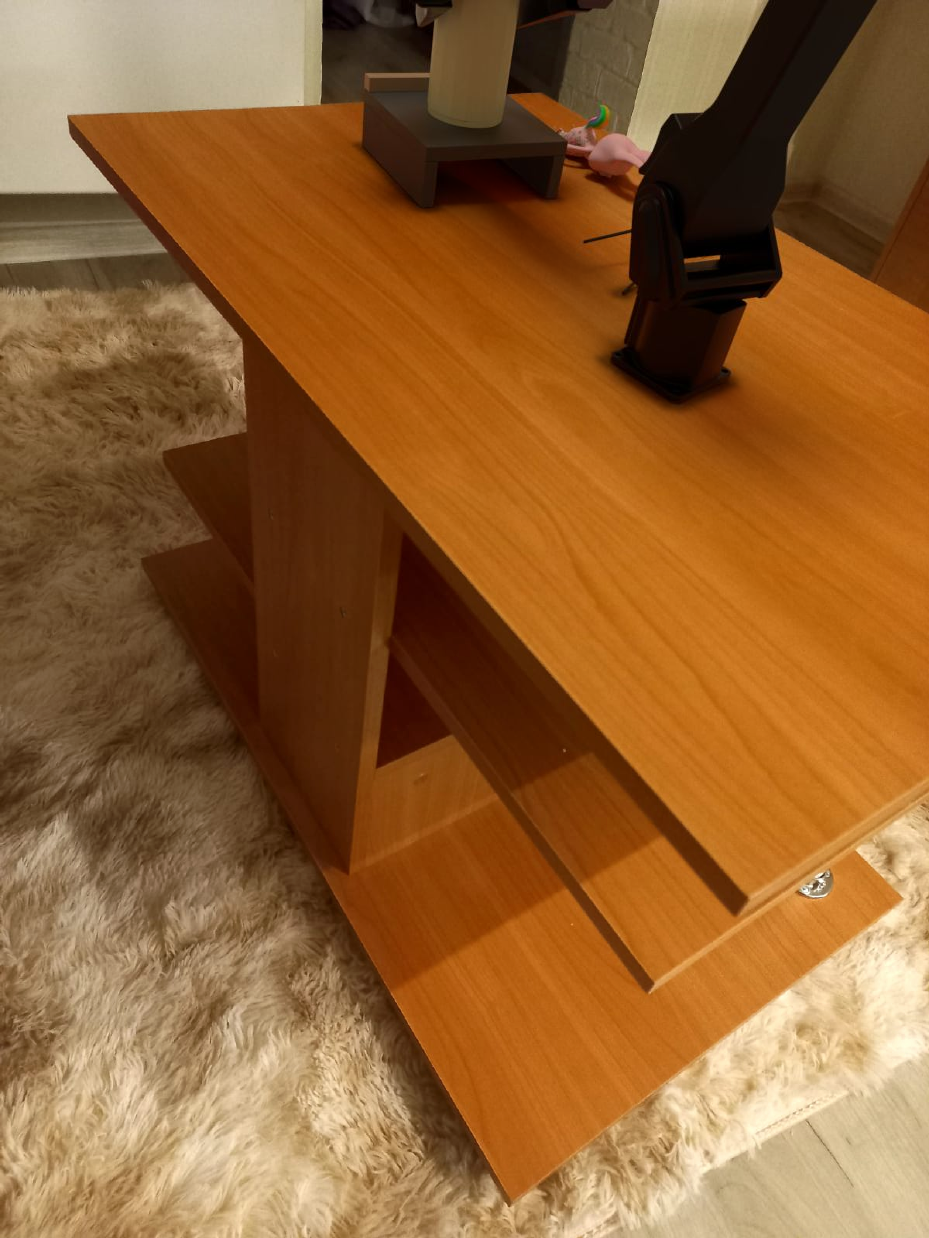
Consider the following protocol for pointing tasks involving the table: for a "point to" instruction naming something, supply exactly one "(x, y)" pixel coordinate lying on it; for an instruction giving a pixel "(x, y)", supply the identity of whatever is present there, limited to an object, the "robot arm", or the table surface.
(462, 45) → the bottle
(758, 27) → the robot arm
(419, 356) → the table surface
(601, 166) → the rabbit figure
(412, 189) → the shelf
